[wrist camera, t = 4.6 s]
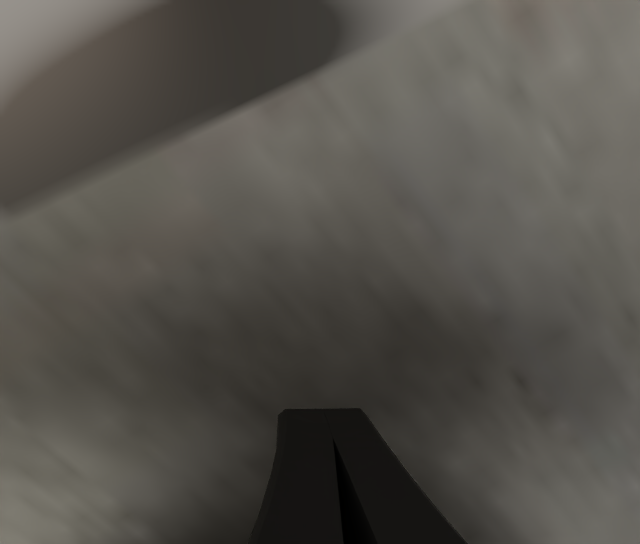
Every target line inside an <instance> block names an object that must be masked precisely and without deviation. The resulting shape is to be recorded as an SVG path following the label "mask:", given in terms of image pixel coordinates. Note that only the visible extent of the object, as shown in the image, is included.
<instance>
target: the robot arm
mask: <svg viewBox="0 0 640 544" xmlns="http://www.w3.org/2000/svg"><path fill="white" fill-rule="evenodd" d="M248 544H468V543H467V542H466V541H465V540H464V539H463V538H462V537H461V536H460V535H459V534H458V532H457V531H456V530H455V529H454V528H453V527H452V526H451V524H450V523H449V522H448V521H447V520H446V519H445V518H444V516H443V515H442V514H441V513H440V512H439V510H438V509H437V508H436V507H435V506H434V504H433V503H432V502H431V501H430V499H429V498H428V497H427V496H426V495H425V493H424V492H423V491H422V490H421V488H420V487H419V486H418V485H417V483H416V482H415V481H414V480H413V478H412V477H411V476H410V475H409V473H408V472H407V471H406V469H405V468H404V467H403V465H402V464H401V463H400V461H399V460H398V459H397V457H396V456H395V455H394V453H393V452H392V451H391V449H390V448H389V447H388V445H387V444H386V442H385V441H384V440H383V438H382V437H381V435H380V434H379V433H378V431H377V430H376V428H375V427H374V425H373V424H372V422H371V421H370V420H369V418H368V417H367V415H366V414H365V413H364V412H363V411H362V410H361V409H360V408H349V409H285V410H284V411H283V412H282V413H280V414H279V415H278V429H277V447H276V454H275V459H274V463H273V468H272V472H271V476H270V479H269V483H268V486H267V489H266V493H265V496H264V500H263V503H262V507H261V510H260V513H259V516H258V519H257V521H256V524H255V527H254V529H253V532H252V535H251V537H250V540H249V543H248Z"/></svg>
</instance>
